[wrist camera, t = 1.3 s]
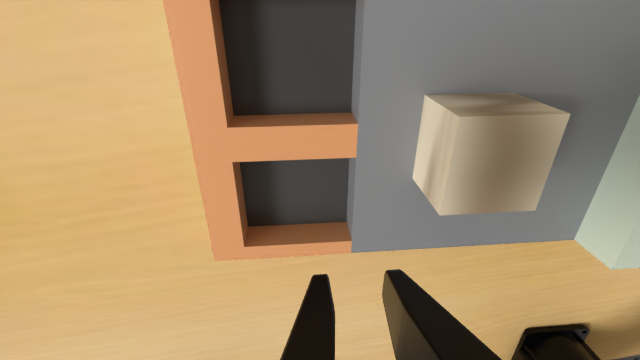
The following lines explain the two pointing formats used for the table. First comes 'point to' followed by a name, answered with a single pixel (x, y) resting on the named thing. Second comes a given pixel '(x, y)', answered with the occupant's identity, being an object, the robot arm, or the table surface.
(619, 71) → the trap deck
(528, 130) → the birch block
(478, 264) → the table surface
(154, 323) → the table surface
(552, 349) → the robot arm
